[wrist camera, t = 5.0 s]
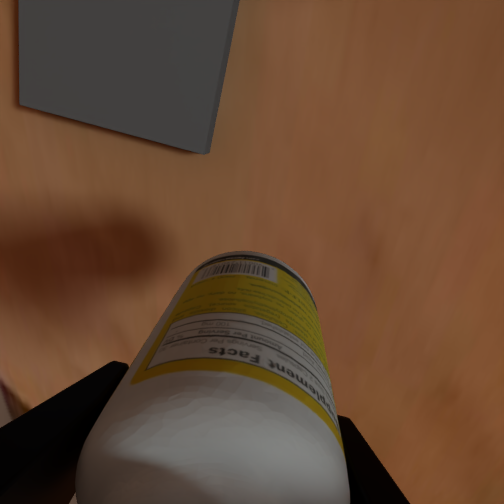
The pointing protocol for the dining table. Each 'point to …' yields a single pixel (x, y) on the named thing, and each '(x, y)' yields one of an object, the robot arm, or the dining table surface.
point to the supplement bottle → (223, 399)
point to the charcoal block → (128, 64)
